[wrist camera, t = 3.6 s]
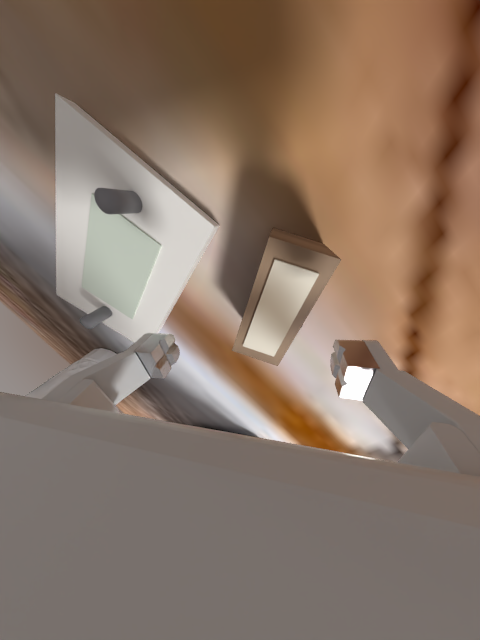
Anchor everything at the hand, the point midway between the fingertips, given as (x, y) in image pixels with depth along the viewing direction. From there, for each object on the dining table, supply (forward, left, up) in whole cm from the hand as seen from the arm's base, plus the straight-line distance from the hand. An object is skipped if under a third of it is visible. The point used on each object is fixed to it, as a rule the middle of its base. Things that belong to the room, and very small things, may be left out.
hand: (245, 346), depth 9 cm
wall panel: (-7, +12, -9) cm, 16 cm away
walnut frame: (+1, -1, -9) cm, 9 cm away
